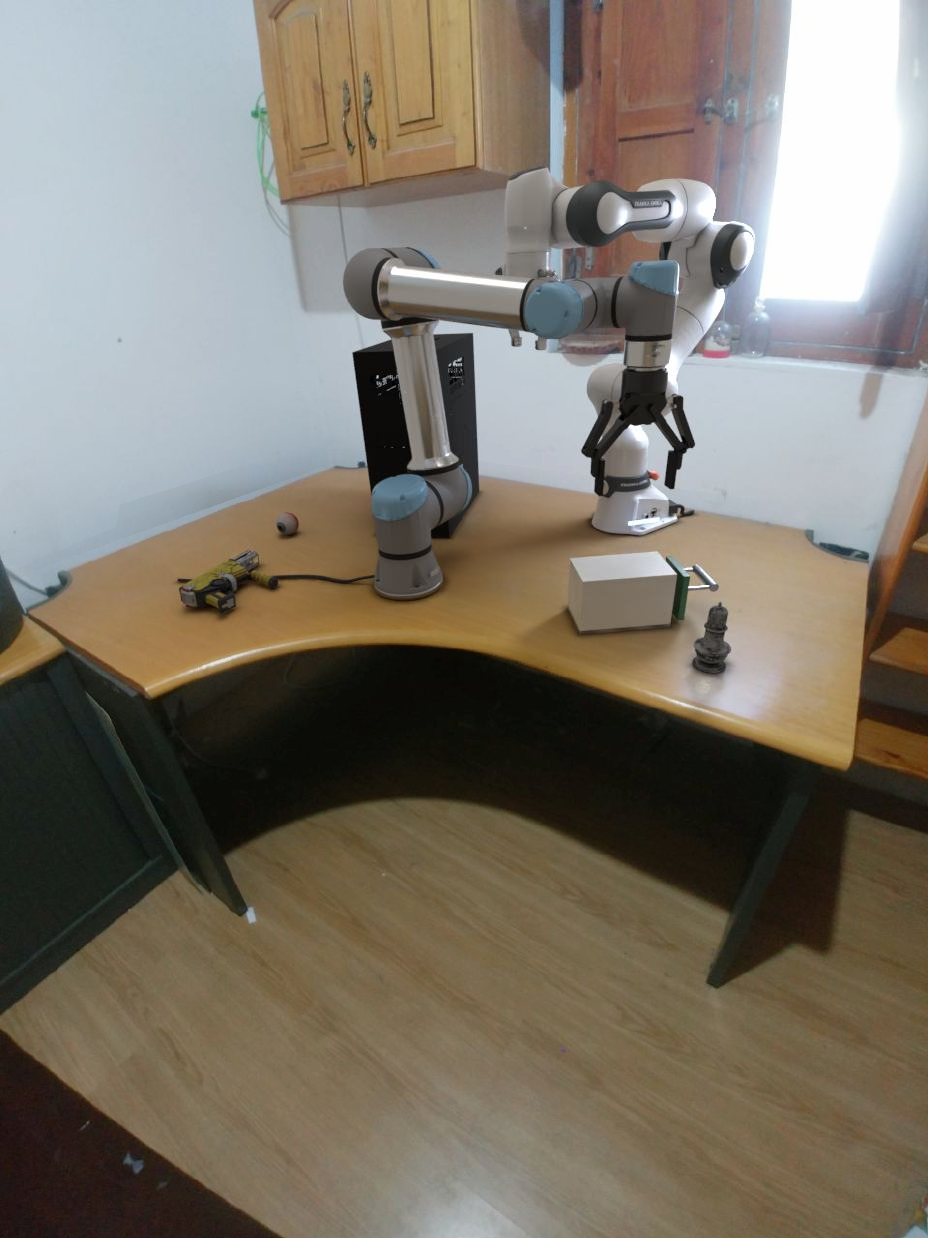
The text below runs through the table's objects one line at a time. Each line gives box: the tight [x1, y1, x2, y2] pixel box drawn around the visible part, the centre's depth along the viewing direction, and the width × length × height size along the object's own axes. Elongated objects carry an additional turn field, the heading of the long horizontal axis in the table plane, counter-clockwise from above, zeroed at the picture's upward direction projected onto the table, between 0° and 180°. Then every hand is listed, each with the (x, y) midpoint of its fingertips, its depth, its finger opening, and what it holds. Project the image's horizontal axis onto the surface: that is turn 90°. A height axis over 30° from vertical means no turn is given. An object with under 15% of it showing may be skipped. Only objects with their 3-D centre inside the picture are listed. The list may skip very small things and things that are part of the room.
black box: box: [351, 332, 480, 539], centre depth 164 cm, size 38×20×45 cm, turn 167°
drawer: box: [665, 555, 720, 622], centre depth 115 cm, size 22×9×9 cm, turn 94°
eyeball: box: [275, 511, 300, 536], centre depth 163 cm, size 6×6×6 cm
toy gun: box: [178, 549, 279, 615], centre depth 136 cm, size 5×24×15 cm
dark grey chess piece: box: [692, 601, 732, 674], centre depth 99 cm, size 6×6×12 cm
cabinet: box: [567, 551, 677, 636], centre depth 115 cm, size 17×10×11 cm, turn 94°
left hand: (634, 490), depth 111 cm, fingers open, 13 cm apart
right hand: (528, 348), depth 124 cm, fingers open, 8 cm apart
